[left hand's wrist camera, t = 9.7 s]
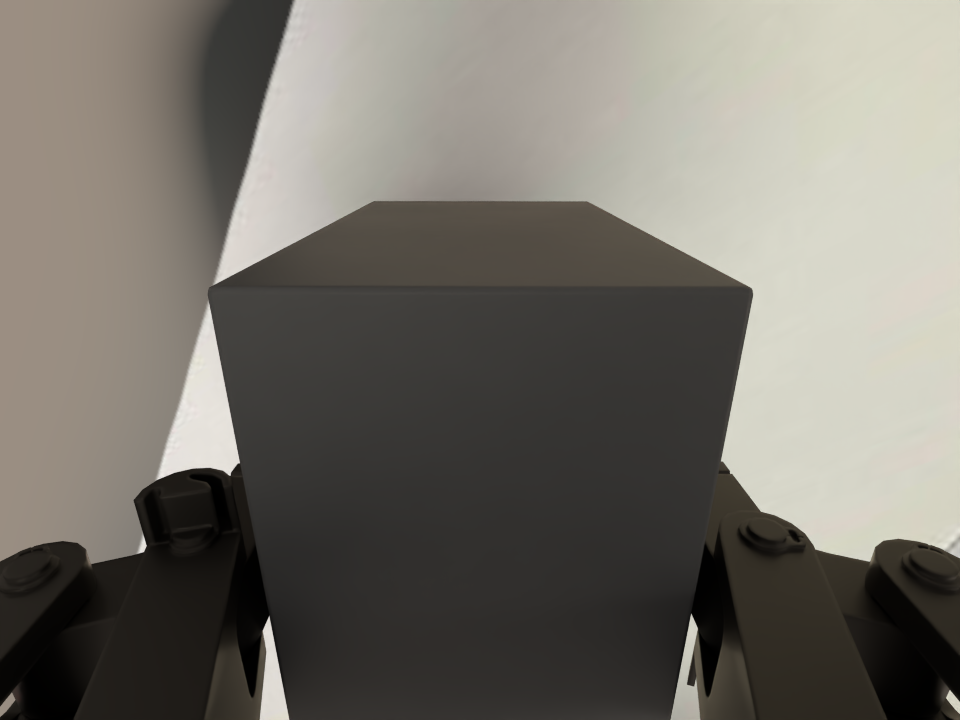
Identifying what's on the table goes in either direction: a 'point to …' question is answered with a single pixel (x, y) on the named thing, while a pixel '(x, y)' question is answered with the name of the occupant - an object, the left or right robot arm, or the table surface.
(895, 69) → the table surface
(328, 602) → the post
